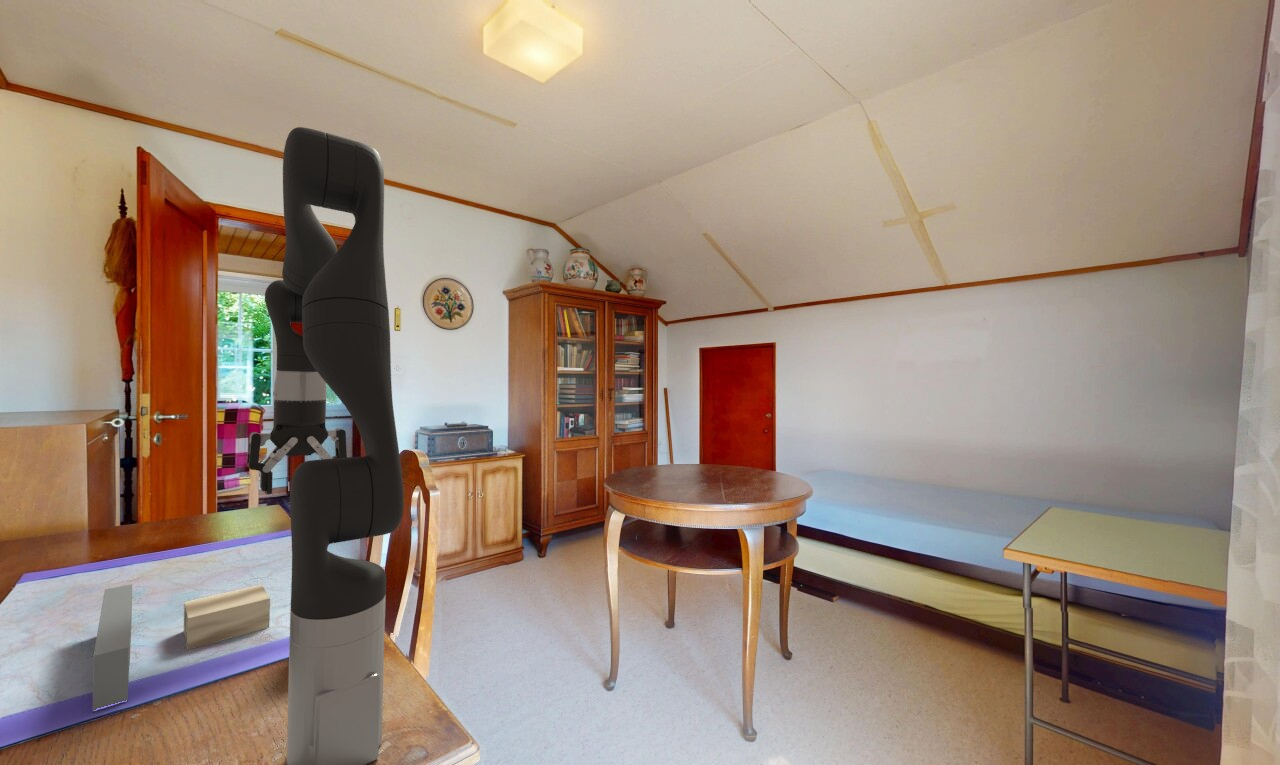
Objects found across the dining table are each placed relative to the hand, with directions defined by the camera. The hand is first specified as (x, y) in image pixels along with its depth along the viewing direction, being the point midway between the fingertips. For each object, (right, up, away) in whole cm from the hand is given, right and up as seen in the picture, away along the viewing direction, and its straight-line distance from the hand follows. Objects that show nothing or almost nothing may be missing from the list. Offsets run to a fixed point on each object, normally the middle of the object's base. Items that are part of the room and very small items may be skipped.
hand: (298, 490), depth 87 cm
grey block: (-15, -21, -17) cm, 31 cm away
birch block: (-7, -21, -7) cm, 23 cm away
